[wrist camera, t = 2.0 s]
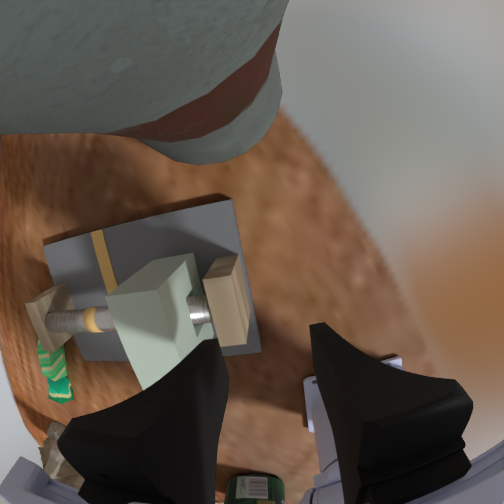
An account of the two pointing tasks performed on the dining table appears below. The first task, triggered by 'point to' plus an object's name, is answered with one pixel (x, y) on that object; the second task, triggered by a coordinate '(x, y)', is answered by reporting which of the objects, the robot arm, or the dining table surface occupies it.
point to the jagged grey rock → (58, 459)
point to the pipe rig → (131, 261)
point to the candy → (55, 373)
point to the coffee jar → (254, 490)
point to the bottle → (143, 72)
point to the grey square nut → (158, 316)
